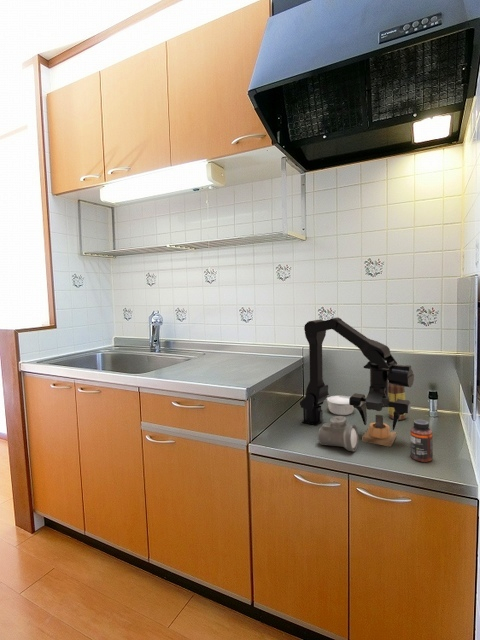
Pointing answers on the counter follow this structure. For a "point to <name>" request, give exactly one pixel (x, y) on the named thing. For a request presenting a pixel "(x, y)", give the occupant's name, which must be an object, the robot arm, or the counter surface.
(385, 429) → the ring
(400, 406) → the robot arm
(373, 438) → the shaft post
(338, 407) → the ramekin
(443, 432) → the counter surface
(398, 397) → the sauce bottle
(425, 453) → the supplement bottle
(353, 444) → the pipe fitting
